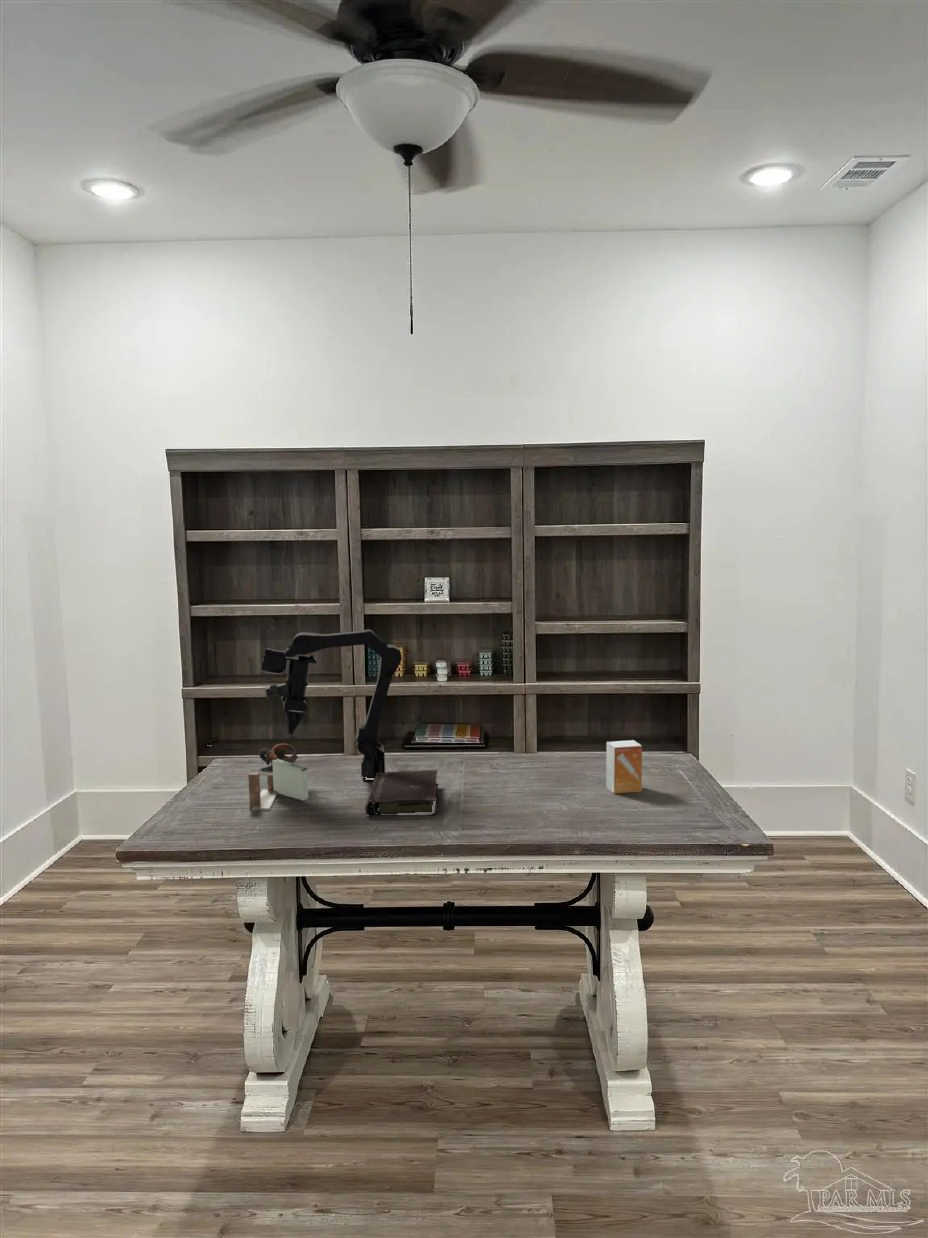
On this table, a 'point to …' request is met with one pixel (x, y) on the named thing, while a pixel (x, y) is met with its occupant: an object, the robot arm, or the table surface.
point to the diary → (403, 792)
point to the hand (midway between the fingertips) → (289, 731)
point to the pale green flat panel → (290, 779)
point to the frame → (266, 796)
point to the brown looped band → (278, 753)
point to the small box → (624, 766)
